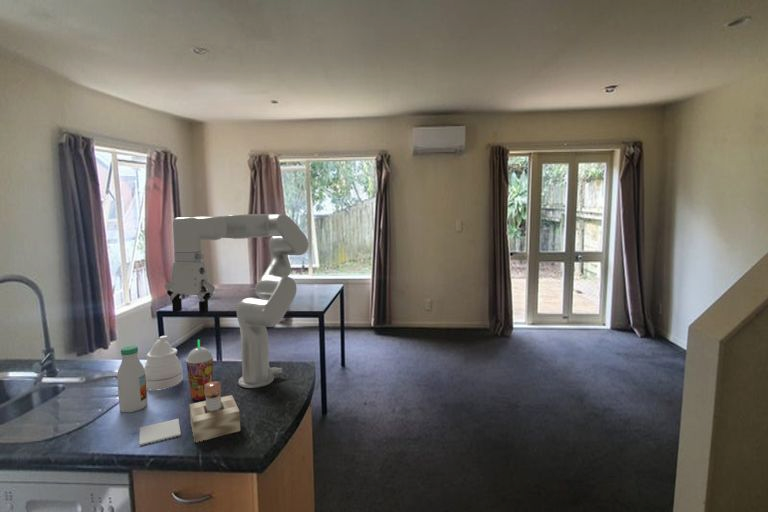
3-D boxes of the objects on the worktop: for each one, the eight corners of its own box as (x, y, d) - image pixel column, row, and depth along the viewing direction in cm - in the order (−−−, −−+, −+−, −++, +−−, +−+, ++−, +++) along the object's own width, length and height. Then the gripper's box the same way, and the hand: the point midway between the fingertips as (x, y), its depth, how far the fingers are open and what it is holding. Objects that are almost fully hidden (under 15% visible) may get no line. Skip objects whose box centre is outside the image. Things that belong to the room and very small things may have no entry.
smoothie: (182, 399, 136) (179, 342, 134) (201, 389, 144) (198, 335, 142) (202, 403, 133) (198, 344, 131) (220, 393, 141) (217, 337, 139)
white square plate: (178, 420, 123) (178, 418, 123) (180, 435, 114) (180, 433, 114) (140, 429, 118) (140, 427, 118) (139, 446, 109) (139, 444, 109)
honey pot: (190, 380, 153) (187, 333, 151) (156, 393, 142) (152, 343, 140) (170, 373, 159) (167, 329, 157) (136, 385, 148) (132, 338, 146)
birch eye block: (232, 413, 127) (231, 394, 126) (240, 430, 116) (239, 410, 116) (190, 423, 121) (189, 404, 120) (194, 442, 110) (193, 422, 110)
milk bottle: (134, 414, 127) (129, 352, 125) (113, 412, 128) (108, 351, 126) (153, 403, 134) (148, 344, 132) (133, 401, 136) (128, 343, 134)
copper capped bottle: (221, 421, 121) (219, 380, 120) (224, 428, 118) (221, 385, 116) (205, 425, 119) (203, 383, 118) (207, 432, 116) (205, 389, 114)
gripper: (220, 257, 125) (222, 311, 127) (173, 256, 130) (176, 308, 131) (203, 259, 118) (206, 317, 120) (155, 258, 122) (157, 313, 124)
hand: (190, 312), depth 125 cm, fingers open, 9 cm apart
